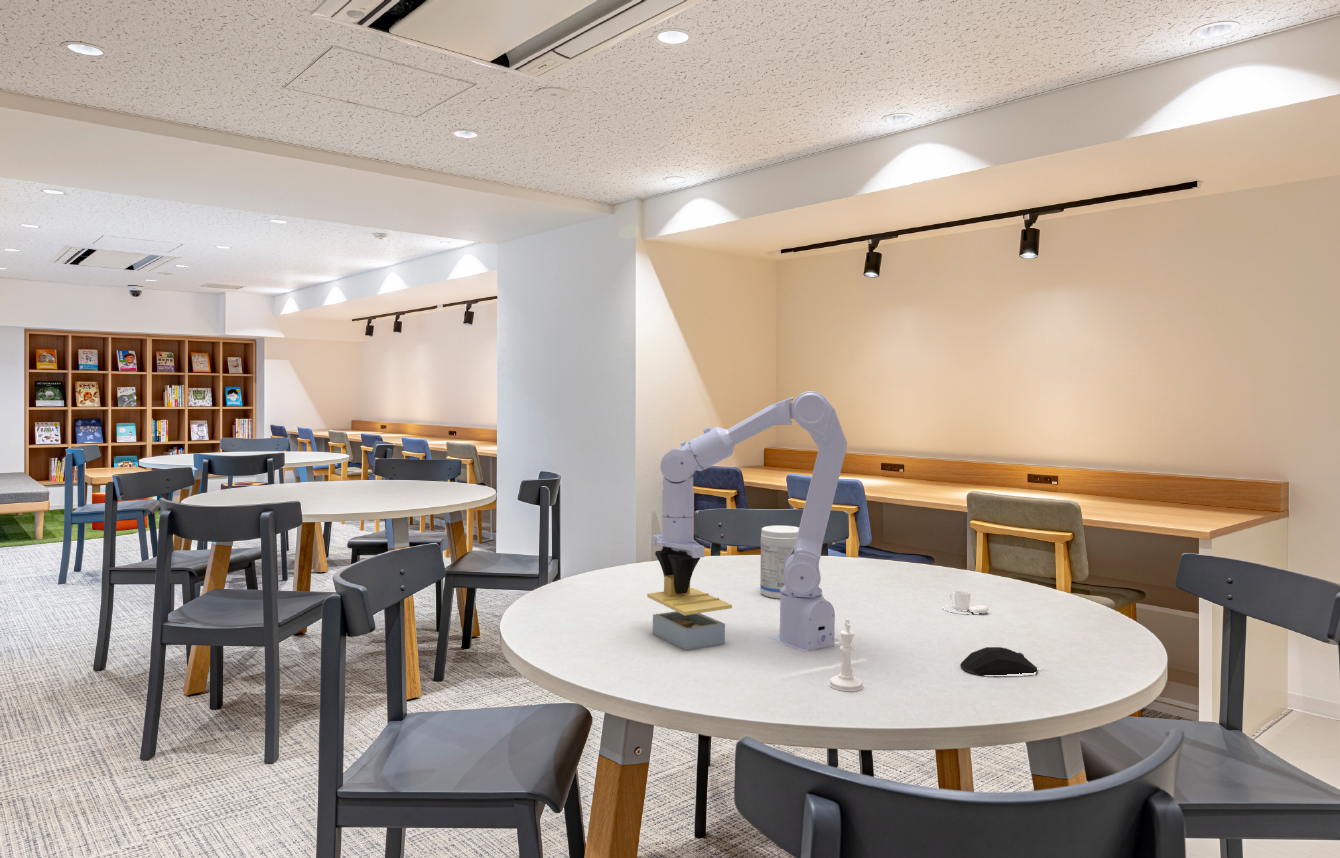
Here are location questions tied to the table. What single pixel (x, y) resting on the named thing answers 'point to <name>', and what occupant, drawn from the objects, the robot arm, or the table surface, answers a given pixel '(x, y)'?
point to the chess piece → (846, 665)
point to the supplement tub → (775, 557)
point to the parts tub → (689, 630)
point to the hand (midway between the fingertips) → (677, 591)
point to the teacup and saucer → (966, 602)
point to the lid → (687, 599)
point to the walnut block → (683, 623)
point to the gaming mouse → (997, 662)
